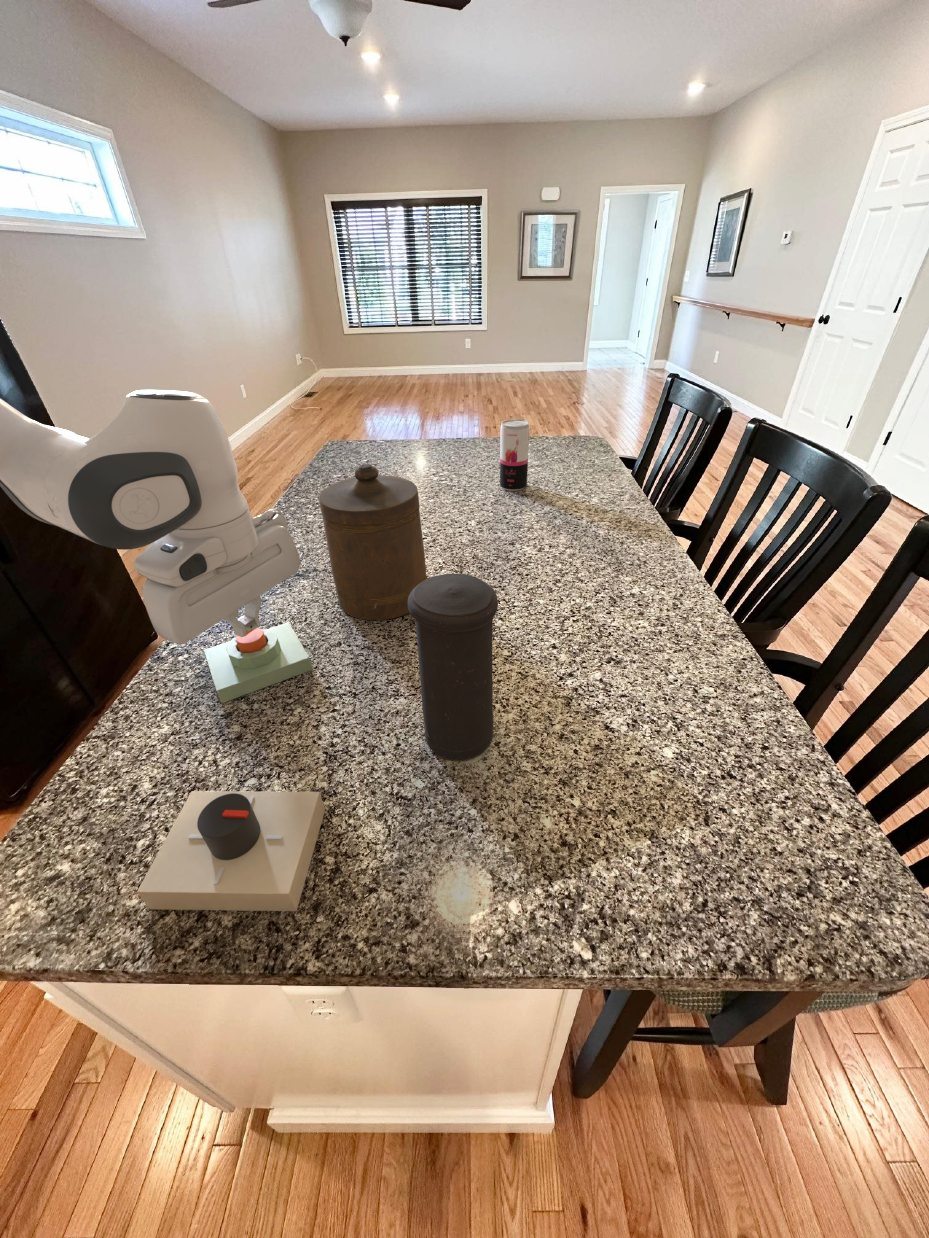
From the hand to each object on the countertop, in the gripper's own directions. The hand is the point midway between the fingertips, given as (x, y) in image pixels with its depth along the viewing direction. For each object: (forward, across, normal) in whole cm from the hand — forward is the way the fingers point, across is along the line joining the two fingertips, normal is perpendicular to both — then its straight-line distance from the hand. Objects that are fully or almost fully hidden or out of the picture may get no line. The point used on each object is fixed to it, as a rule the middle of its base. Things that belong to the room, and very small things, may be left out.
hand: (248, 630), depth 68 cm
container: (+6, -2, +31) cm, 32 cm away
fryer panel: (+6, +21, +20) cm, 30 cm away
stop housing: (+6, 0, 0) cm, 6 cm away
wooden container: (+6, -22, +5) cm, 24 cm away
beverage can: (+6, -77, +4) cm, 78 cm away
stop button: (+2, 0, 0) cm, 2 cm away
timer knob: (+3, +21, +20) cm, 29 cm away
